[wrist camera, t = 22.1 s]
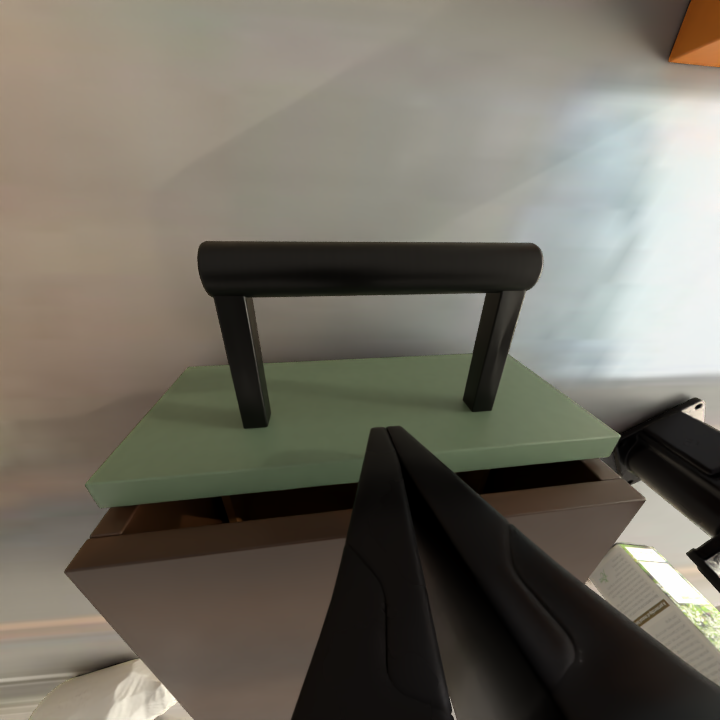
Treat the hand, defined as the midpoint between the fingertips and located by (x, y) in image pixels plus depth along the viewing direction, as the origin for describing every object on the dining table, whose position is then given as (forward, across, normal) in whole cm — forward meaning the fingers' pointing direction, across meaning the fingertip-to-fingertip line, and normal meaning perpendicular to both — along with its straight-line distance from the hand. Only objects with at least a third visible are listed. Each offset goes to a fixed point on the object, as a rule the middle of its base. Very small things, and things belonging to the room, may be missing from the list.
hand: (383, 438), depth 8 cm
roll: (+8, +22, +34) cm, 41 cm away
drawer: (+7, 0, +6) cm, 9 cm away
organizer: (+8, 0, +10) cm, 13 cm away
